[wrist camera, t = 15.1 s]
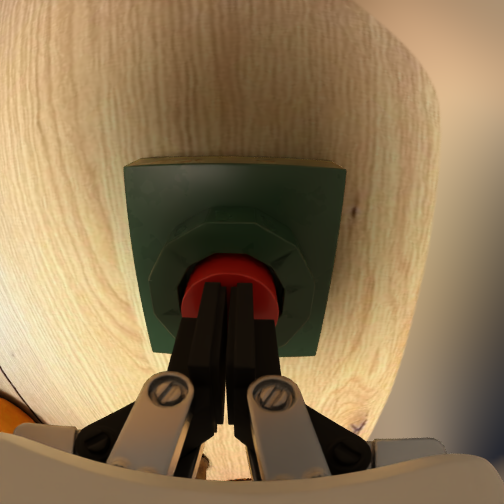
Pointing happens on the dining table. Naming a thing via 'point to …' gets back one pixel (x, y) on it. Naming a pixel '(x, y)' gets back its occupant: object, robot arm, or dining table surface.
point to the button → (232, 283)
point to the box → (235, 234)
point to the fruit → (11, 416)
